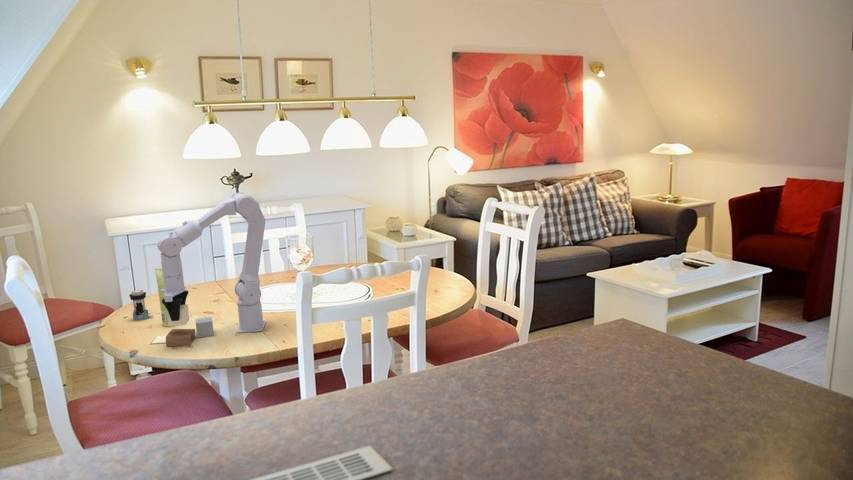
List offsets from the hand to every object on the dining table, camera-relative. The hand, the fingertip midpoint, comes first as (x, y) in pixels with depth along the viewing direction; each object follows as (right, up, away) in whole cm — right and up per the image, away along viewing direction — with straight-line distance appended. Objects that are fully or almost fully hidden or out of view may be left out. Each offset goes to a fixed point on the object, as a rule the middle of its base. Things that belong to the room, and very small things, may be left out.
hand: (178, 317), depth 205 cm
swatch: (-6, -8, +4) cm, 11 cm away
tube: (-9, -5, +19) cm, 21 cm away
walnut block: (0, -8, +2) cm, 8 cm away
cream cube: (0, -2, 0) cm, 2 cm away
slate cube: (+6, -6, +8) cm, 12 cm away
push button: (-22, -4, +26) cm, 35 cm away
